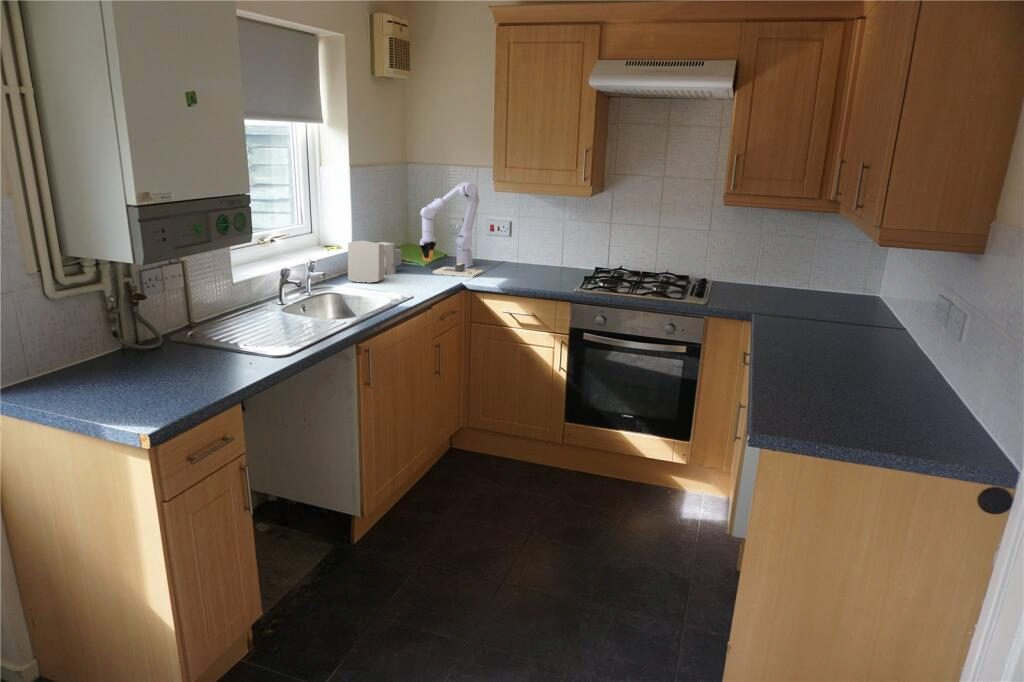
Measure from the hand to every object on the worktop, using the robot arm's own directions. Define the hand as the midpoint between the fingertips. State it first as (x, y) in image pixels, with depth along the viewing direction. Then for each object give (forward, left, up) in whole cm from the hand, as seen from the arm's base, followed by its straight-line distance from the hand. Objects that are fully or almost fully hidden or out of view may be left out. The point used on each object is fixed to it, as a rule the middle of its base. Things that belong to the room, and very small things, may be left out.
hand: (428, 257), depth 355 cm
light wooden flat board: (+4, +19, -6) cm, 20 cm away
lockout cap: (0, 0, -2) cm, 2 cm away
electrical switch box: (+38, -13, -6) cm, 41 cm away
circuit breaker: (+18, -13, -6) cm, 23 cm away
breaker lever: (+4, +20, -4) cm, 21 cm away
